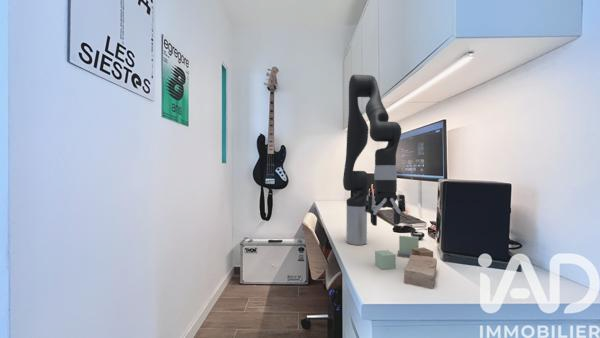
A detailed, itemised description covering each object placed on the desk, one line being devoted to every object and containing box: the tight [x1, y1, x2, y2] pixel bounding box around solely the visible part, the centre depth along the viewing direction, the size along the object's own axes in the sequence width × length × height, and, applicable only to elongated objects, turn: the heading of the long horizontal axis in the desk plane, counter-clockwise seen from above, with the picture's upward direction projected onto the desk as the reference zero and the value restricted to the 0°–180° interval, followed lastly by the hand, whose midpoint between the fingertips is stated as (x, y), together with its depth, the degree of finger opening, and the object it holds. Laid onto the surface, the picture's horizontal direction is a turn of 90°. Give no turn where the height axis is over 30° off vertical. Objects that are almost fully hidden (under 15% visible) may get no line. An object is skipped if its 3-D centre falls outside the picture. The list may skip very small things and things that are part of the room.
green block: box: [374, 249, 397, 271], centre depth 94 cm, size 5×5×5 cm
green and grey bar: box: [397, 234, 420, 259], centre depth 105 cm, size 4×8×8 cm, turn 68°
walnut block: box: [412, 247, 434, 258], centre depth 97 cm, size 5×5×5 cm
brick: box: [403, 255, 438, 290], centre depth 85 cm, size 17×8×5 cm, turn 150°
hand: (385, 224), depth 93 cm, fingers open, 8 cm apart
